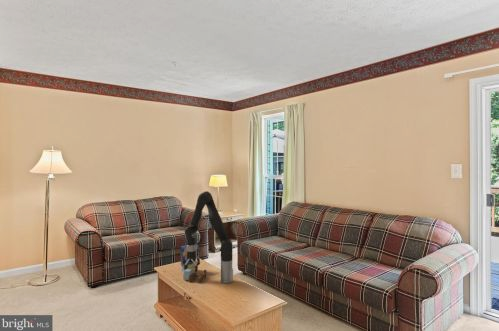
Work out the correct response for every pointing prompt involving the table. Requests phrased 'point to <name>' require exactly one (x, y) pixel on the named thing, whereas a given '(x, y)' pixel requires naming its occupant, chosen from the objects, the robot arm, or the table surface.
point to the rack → (199, 277)
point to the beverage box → (184, 253)
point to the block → (188, 273)
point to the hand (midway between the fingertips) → (191, 269)
